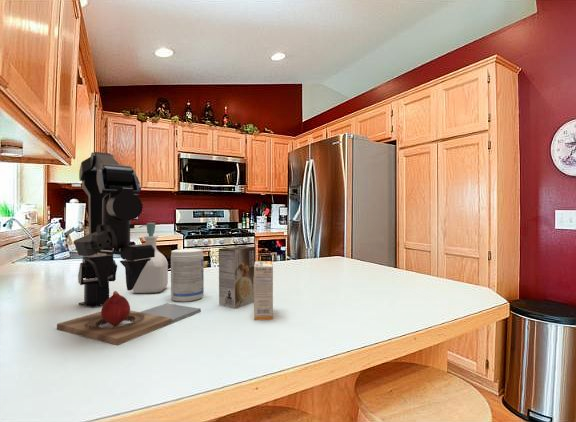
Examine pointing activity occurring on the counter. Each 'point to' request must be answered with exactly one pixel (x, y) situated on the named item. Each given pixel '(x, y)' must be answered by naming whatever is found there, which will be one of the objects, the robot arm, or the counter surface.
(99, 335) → the walnut bore board
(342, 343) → the counter surface
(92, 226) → the robot arm
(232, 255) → the coffee box
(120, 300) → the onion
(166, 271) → the soap bottle
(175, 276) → the supplement tub
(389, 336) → the counter surface
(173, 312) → the plate
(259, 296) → the supplement box
